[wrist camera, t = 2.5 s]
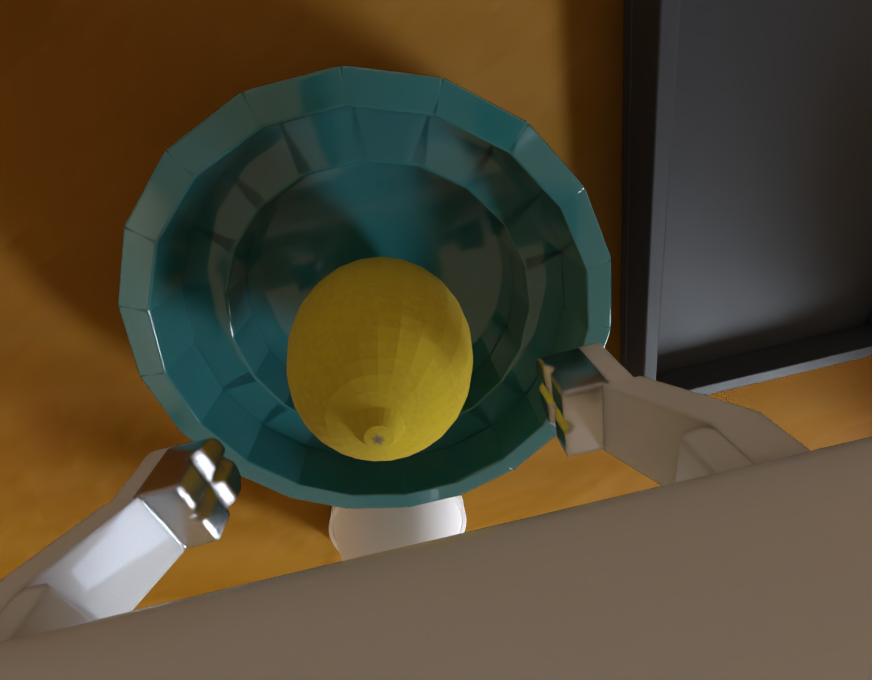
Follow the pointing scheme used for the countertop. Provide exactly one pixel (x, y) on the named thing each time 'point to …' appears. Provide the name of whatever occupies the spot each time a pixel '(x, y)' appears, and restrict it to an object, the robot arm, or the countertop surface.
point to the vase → (394, 526)
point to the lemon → (379, 359)
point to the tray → (745, 189)
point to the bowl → (347, 242)
